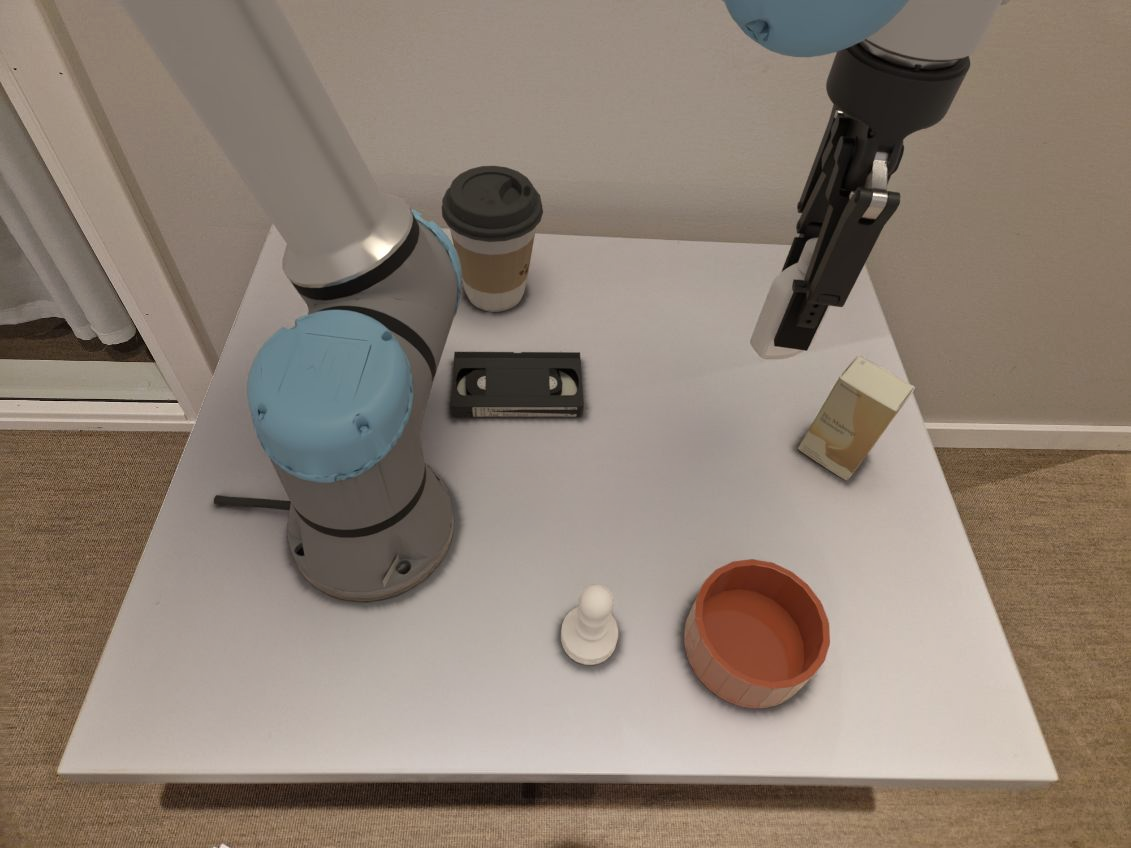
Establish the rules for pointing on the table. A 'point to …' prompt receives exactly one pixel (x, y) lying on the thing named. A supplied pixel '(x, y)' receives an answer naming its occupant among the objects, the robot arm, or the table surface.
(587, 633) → the chess pawn
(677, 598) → the table surface
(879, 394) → the cosmetic box
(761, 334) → the eye dropper bottle
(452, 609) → the table surface
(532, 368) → the vhs tape
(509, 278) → the coffee cup
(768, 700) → the crock
